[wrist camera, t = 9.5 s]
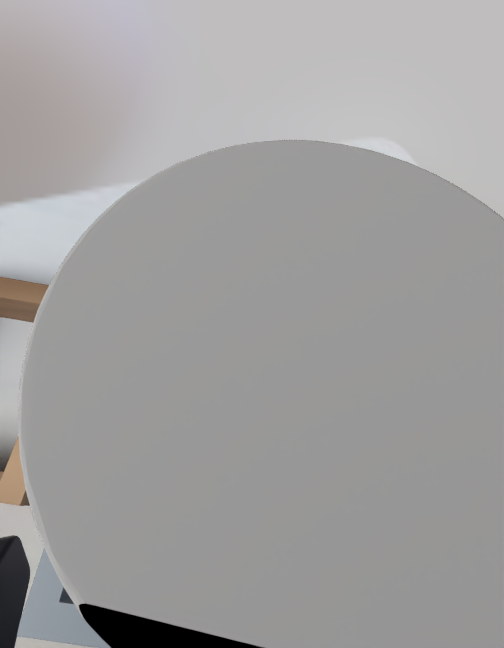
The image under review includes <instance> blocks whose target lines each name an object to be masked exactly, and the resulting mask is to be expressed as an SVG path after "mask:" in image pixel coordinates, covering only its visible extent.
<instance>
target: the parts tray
mask: <svg viewBox="0 0 504 648" xmlns="http://www.w3.org/2000/svg"><path fill="white" fill-rule="evenodd" d="M17 636H19V637H26V638H33V639H40V640H47V641H53V642H60V643H67V644H74V645H81V646H88V647H95V648H111V647H110V646H109V645H108V644H107V643H106V642H105V641H104V640H102V639H101V637H100V636H99V635H98V634H97V633H96V632H95V631H94V630H93V629H92V628H91V627H90V626H89V625H88V623H87V622H86V621H85V620H84V618H83V617H82V616H81V614H80V612H79V611H78V609H77V608H76V606H75V604H74V603H73V601H72V600H71V598H70V597H69V595H68V593H67V592H66V590H65V589H64V587H63V585H62V583H61V581H60V579H59V577H58V575H57V573H56V571H55V570H54V568H53V566H52V564H51V562H50V559H49V557H48V555H47V552H46V550H45V548H44V550H43V553H42V557H41V560H40V563H39V566H38V569H37V572H36V575H35V578H34V581H33V584H32V587H31V590H30V593H29V596H28V599H27V602H26V605H25V608H24V611H23V614H22V617H21V620H20V624H19V629H18V633H17Z"/></svg>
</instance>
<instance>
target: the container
mask: <svg viewBox="0 0 504 648" xmlns="http://www.w3.org/2000/svg"><path fill="white" fill-rule="evenodd" d="M18 435H19V449H20V460H21V466H22V472H23V477H24V483H25V489H26V493H27V497H28V500H29V504H30V508H31V511H32V515H33V518H34V521H35V524H36V527H37V530H38V533H39V536H40V538H41V541H42V543H43V545H44V548H45V550H46V552H47V555H48V557H49V559H50V562H51V564H52V566H53V568H54V570H55V571H56V573H57V575H58V577H59V579H60V581H61V583H62V585H63V587H64V589H65V590H66V592H67V593H68V595H69V597H70V598H71V600H72V601H73V603H74V604H75V606H76V608H77V609H78V611H79V612H80V614H81V616H82V617H83V618H84V620H85V621H86V622H87V623H88V625H89V626H90V627H91V628H92V629H93V630H94V631H95V632H96V633H97V634H98V635H99V636H100V637H101V639H102V640H104V641H105V642H106V643H107V644H108V645H109V646H110V647H111V648H504V219H503V218H502V217H501V216H500V215H498V214H497V213H496V212H495V211H493V210H492V209H491V208H489V207H488V206H487V205H485V204H484V203H482V202H481V201H479V200H478V199H476V198H475V197H473V196H472V195H470V194H469V193H467V192H466V191H464V190H462V189H461V188H459V187H458V186H456V185H454V184H451V183H450V182H448V181H447V180H444V179H442V178H441V177H439V176H437V175H435V174H433V173H431V172H429V171H427V170H424V169H422V168H420V167H418V166H415V165H413V164H410V163H408V162H405V161H402V160H399V159H396V158H394V157H391V156H388V155H385V154H381V153H378V152H375V151H371V150H367V149H362V148H357V147H352V146H348V145H343V144H336V143H328V142H320V141H308V140H278V141H266V142H254V143H247V144H242V145H235V146H231V147H226V148H222V149H219V150H215V151H210V152H207V153H205V154H202V155H199V156H196V157H194V158H191V159H188V160H185V161H182V162H180V163H177V164H175V165H173V166H171V167H169V168H167V169H165V170H164V171H161V172H159V173H157V174H156V175H154V176H152V177H150V178H149V179H147V180H145V181H144V182H142V183H140V184H139V185H137V186H136V187H134V188H133V189H131V190H130V191H129V192H127V193H126V194H125V195H123V196H122V197H121V198H120V199H118V200H117V201H116V202H115V203H114V204H112V205H111V206H110V207H109V208H108V209H107V210H106V211H105V212H104V213H102V214H101V215H100V216H99V217H98V218H97V219H96V220H95V221H94V222H93V224H92V225H91V226H90V227H89V228H88V229H87V230H86V231H85V232H84V233H83V234H82V236H81V237H80V238H79V240H78V241H77V242H76V244H75V245H74V246H73V248H72V249H71V251H70V252H69V253H68V255H67V256H66V258H65V259H64V261H63V262H62V264H61V266H60V267H59V269H58V271H57V272H56V274H55V276H54V277H53V279H52V281H51V283H50V285H49V287H48V289H47V291H46V293H45V295H44V297H43V299H42V302H41V304H40V306H39V308H38V310H37V314H36V317H35V320H34V323H33V326H32V329H31V332H30V335H29V338H28V342H27V347H26V351H25V356H24V361H23V365H22V372H21V379H20V388H19V406H18Z"/></svg>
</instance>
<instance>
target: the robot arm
mask: <svg viewBox="0 0 504 648" xmlns="http://www.w3.org/2000/svg"><path fill="white" fill-rule="evenodd" d="M29 579H30V567H29V563H28V560H27V558H26V555H25V552H24V549H23V546H22V543H21V540H20V538H19V537H17V536H8V537H2V538H0V648H14V647H15V642H16V638H17V633H18V629H19V624H20V620H21V615H22V611H23V606H24V602H25V597H26V593H27V589H28V584H29Z"/></svg>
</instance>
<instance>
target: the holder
mask: <svg viewBox="0 0 504 648" xmlns="http://www.w3.org/2000/svg"><path fill="white" fill-rule="evenodd" d="M48 287H49V285H44V284H38V283H32V282H27V281H21V280H15V279H9V278H3V277H0V317H5V318H11V319H17V320H23V321H29V322H34V320H35V317H36V314H37V310H38V308H39V306H40V304H41V302H42V299H43V297H44V295H45V293H46V291H47V289H48ZM0 503H6V504H13V505H19V506H24V505H30V504H29V500H28V497H27V493H26V489H25V483H24V477H23V472H22V466H21V460H20V449H19V436H18V438H17V441H16V443H15V446H14V448H13V451H12V453H11V456H10V458H9V461H8V463H7V466H6V468H5V471H4V472H3V471H0Z"/></svg>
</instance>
